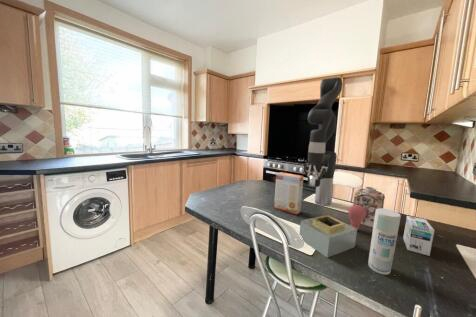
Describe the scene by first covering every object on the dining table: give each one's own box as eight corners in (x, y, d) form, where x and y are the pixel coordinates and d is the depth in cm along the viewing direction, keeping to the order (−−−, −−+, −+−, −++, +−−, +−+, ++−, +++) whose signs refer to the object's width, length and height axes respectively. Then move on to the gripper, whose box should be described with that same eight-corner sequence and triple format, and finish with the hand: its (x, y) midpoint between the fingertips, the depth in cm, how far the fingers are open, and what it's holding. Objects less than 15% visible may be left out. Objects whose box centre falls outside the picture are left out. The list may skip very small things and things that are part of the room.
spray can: (369, 271, 65) (378, 214, 62) (365, 259, 70) (373, 206, 67) (393, 277, 62) (404, 218, 59) (387, 264, 68) (397, 210, 65)
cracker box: (300, 211, 110) (304, 175, 106) (296, 215, 105) (299, 177, 102) (278, 205, 118) (280, 171, 115) (273, 208, 114) (275, 173, 111)
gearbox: (325, 230, 90) (327, 211, 89) (354, 247, 78) (357, 225, 76) (299, 238, 83) (301, 217, 81) (327, 257, 71) (329, 233, 69)
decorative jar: (381, 221, 101) (386, 188, 98) (377, 229, 93) (383, 193, 90) (355, 214, 109) (359, 183, 106) (349, 221, 101) (354, 187, 98)
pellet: (313, 184, 100) (313, 174, 100) (319, 186, 97) (320, 176, 96) (307, 185, 99) (308, 175, 98) (313, 187, 95) (314, 177, 94)
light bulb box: (430, 256, 73) (435, 230, 72) (407, 250, 77) (411, 224, 75) (422, 243, 82) (427, 219, 81) (402, 238, 86) (406, 215, 84)
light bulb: (361, 227, 94) (364, 203, 92) (365, 234, 87) (369, 209, 86) (344, 224, 96) (347, 201, 95) (347, 231, 90) (350, 206, 88)
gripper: (334, 153, 91) (330, 188, 93) (310, 149, 103) (308, 180, 106) (323, 153, 87) (319, 190, 90) (300, 149, 100) (297, 182, 102)
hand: (313, 185), depth 98 cm, fingers closed on pellet, 4 cm apart
